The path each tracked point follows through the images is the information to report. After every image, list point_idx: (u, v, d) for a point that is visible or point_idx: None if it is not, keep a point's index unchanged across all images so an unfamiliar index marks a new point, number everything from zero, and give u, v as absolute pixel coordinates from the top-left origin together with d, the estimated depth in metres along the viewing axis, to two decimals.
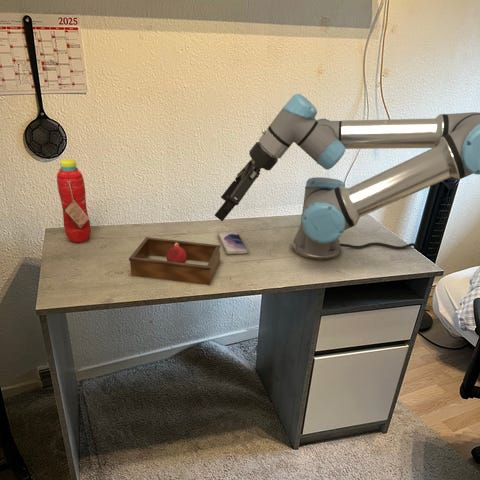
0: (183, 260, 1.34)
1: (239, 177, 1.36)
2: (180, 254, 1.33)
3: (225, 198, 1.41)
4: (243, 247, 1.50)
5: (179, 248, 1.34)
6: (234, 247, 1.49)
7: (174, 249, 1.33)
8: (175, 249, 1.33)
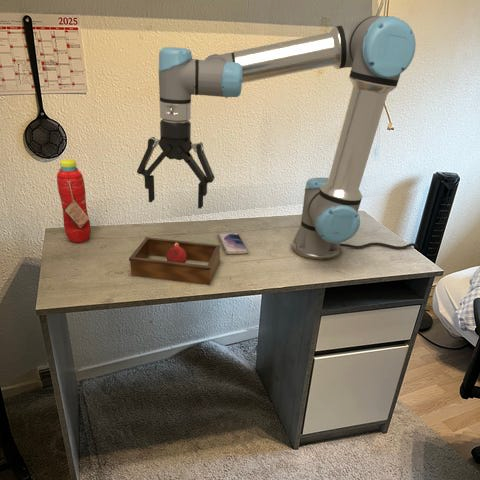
0: (183, 260, 1.34)
1: (153, 170, 1.22)
2: (180, 254, 1.33)
3: (152, 198, 1.27)
4: (243, 247, 1.50)
5: (179, 248, 1.34)
6: (234, 247, 1.49)
7: (174, 249, 1.33)
8: (175, 249, 1.33)
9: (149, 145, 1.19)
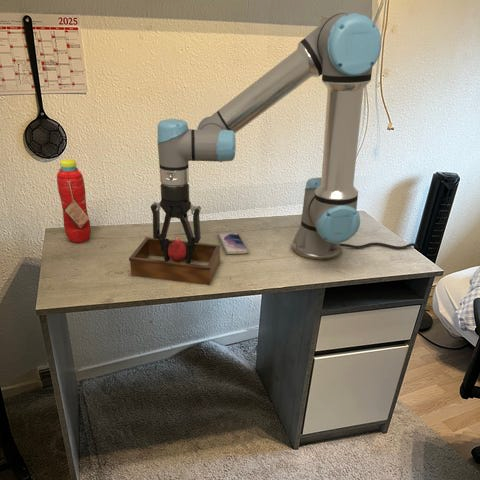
0: (184, 254, 1.33)
1: (165, 232, 1.31)
2: (181, 248, 1.32)
3: (168, 259, 1.37)
4: (243, 247, 1.50)
5: (180, 242, 1.33)
6: (234, 247, 1.49)
7: (175, 243, 1.32)
8: (176, 244, 1.32)
9: (153, 211, 1.28)
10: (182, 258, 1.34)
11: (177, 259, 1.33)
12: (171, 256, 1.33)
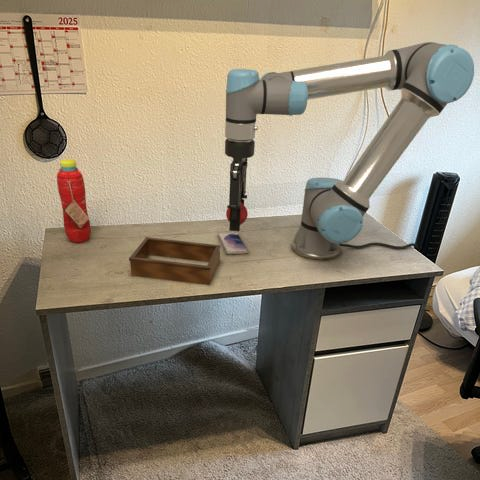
0: None
1: None
2: None
3: None
4: (243, 247, 1.50)
5: None
6: (234, 247, 1.49)
7: (241, 203, 1.27)
8: (242, 204, 1.27)
9: (239, 177, 1.17)
10: None
11: None
12: (245, 217, 1.28)
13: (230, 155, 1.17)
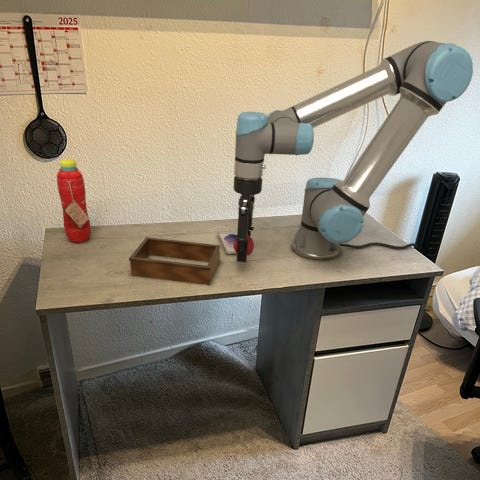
0: None
1: None
2: None
3: None
4: None
5: None
6: None
7: (248, 236, 1.32)
8: (249, 236, 1.33)
9: (247, 213, 1.23)
10: None
11: None
12: (252, 249, 1.33)
13: (238, 191, 1.23)
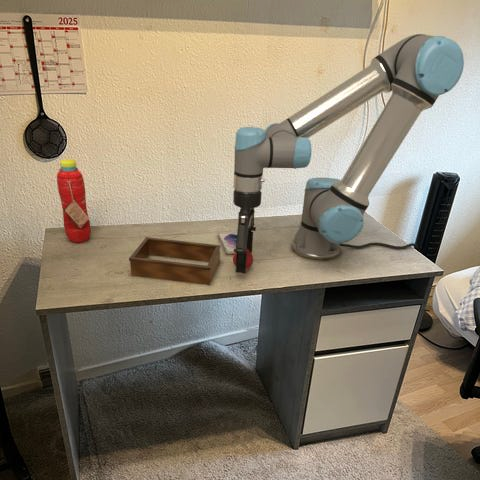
0: None
1: None
2: None
3: None
4: None
5: None
6: (234, 247, 1.49)
7: (247, 250, 1.35)
8: (248, 250, 1.35)
9: (247, 222, 1.24)
10: None
11: None
12: (251, 263, 1.36)
13: (238, 205, 1.25)
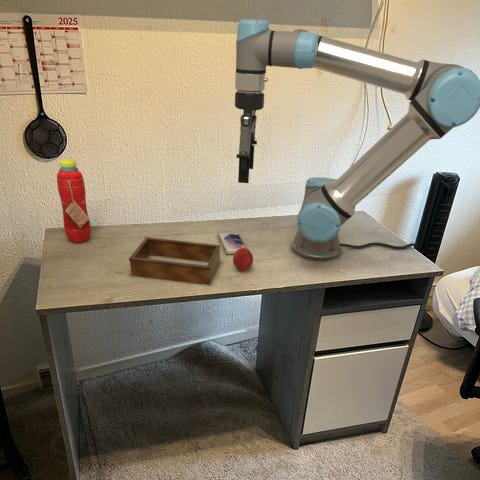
0: None
1: None
2: None
3: None
4: None
5: None
6: (234, 247, 1.49)
7: (247, 250, 1.35)
8: (248, 250, 1.35)
9: (250, 123, 1.18)
10: None
11: None
12: (251, 263, 1.36)
13: (240, 107, 1.19)
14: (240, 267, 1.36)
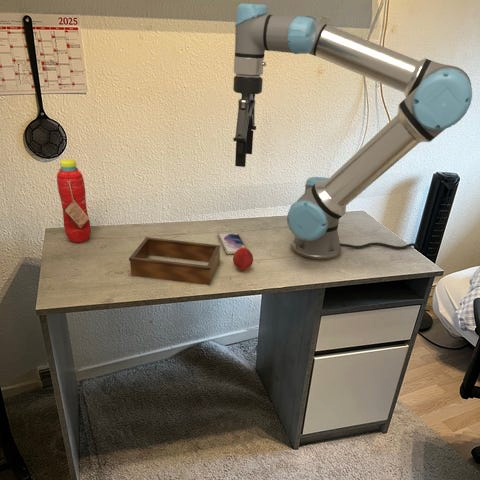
0: None
1: None
2: None
3: None
4: None
5: None
6: (234, 247, 1.49)
7: (247, 250, 1.35)
8: (248, 250, 1.35)
9: (248, 107, 1.19)
10: None
11: None
12: (251, 263, 1.36)
13: (238, 90, 1.21)
14: (240, 267, 1.36)
